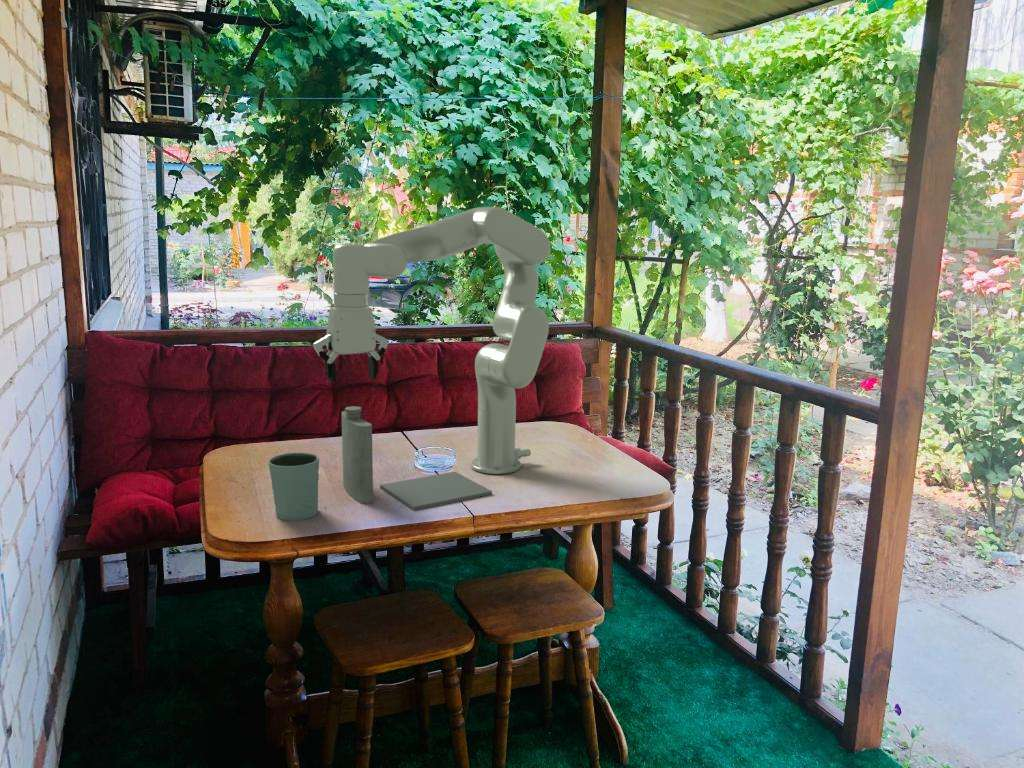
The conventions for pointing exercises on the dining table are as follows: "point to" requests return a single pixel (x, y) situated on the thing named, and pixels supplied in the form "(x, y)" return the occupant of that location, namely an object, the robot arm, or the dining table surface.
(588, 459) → the dining table surface
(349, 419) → the hip flask
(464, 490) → the rubber mat
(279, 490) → the green cup
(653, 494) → the dining table surface
